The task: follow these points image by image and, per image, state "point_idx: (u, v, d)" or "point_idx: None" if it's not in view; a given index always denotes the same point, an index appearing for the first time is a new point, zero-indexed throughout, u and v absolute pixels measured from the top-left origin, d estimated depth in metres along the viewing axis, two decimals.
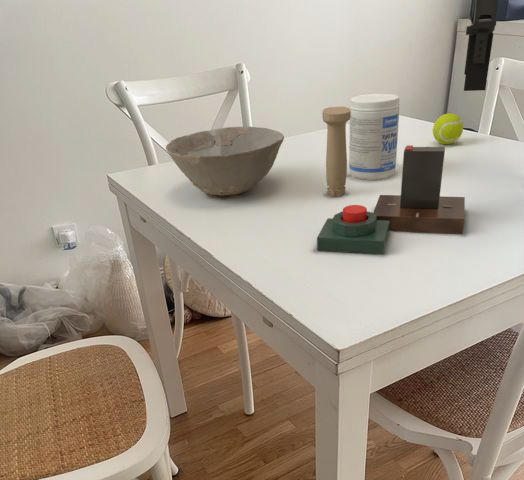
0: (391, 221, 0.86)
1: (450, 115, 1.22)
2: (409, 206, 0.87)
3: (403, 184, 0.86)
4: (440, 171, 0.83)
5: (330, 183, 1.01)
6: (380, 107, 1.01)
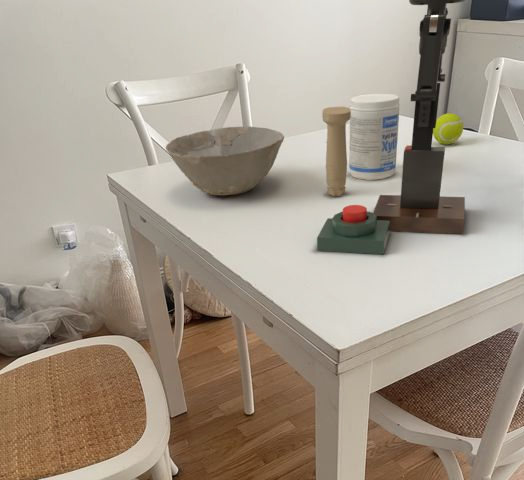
0: (391, 221, 0.86)
1: (450, 115, 1.22)
2: (409, 206, 0.87)
3: (403, 184, 0.86)
4: (440, 171, 0.83)
5: (330, 183, 1.01)
6: (380, 107, 1.01)
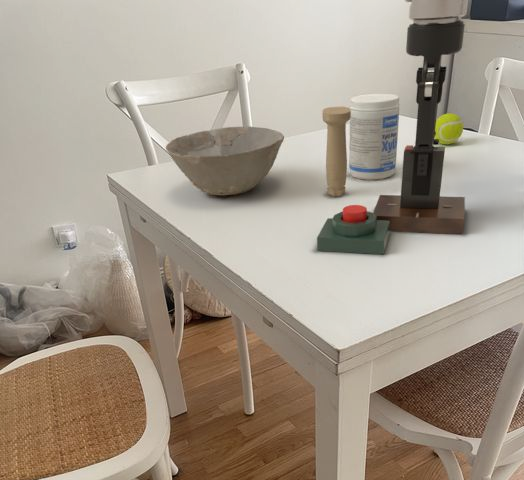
0: (391, 221, 0.86)
1: (450, 115, 1.22)
2: (409, 206, 0.87)
3: (403, 184, 0.86)
4: (440, 171, 0.83)
5: (330, 183, 1.01)
6: (380, 107, 1.01)
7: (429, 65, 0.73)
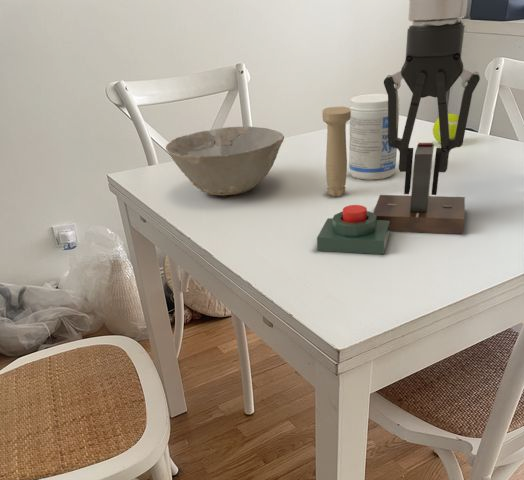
0: (391, 221, 0.86)
1: (450, 115, 1.22)
2: None
3: None
4: (413, 173, 0.83)
5: (330, 183, 1.01)
6: (380, 107, 1.01)
7: None
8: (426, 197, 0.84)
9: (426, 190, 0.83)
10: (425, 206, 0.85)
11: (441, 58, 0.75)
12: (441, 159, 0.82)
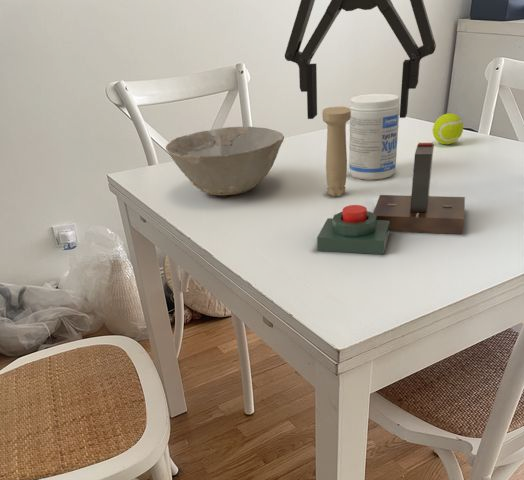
0: (391, 221, 0.86)
1: (450, 115, 1.22)
2: None
3: None
4: (413, 173, 0.83)
5: (330, 183, 1.01)
6: (380, 107, 1.01)
7: None
8: (426, 197, 0.84)
9: (426, 190, 0.83)
10: (425, 206, 0.85)
11: None
12: (410, 72, 0.68)
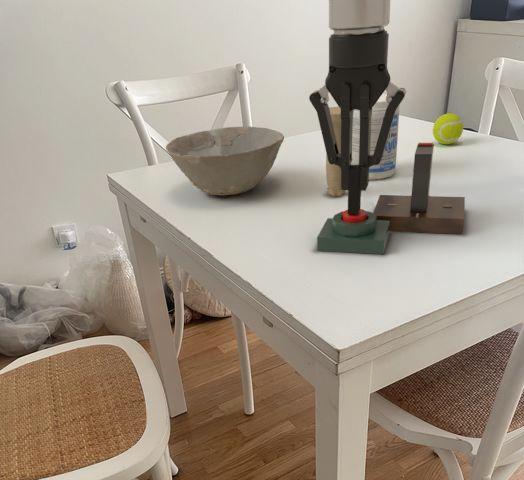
0: (391, 221, 0.86)
1: (450, 115, 1.22)
2: None
3: None
4: (413, 173, 0.83)
5: (330, 183, 1.01)
6: (380, 107, 1.01)
7: None
8: (426, 197, 0.84)
9: (426, 190, 0.83)
10: (425, 206, 0.85)
11: None
12: (360, 177, 0.78)
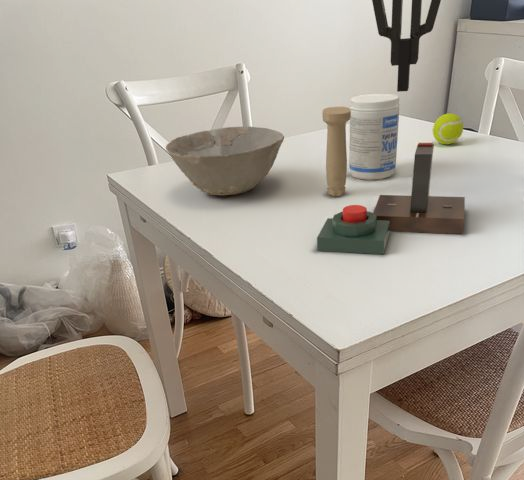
0: (391, 221, 0.86)
1: (450, 115, 1.22)
2: None
3: None
4: (413, 173, 0.83)
5: (330, 183, 1.01)
6: (380, 107, 1.01)
7: None
8: (426, 197, 0.84)
9: (426, 190, 0.83)
10: (425, 206, 0.85)
11: None
12: (411, 49, 0.76)
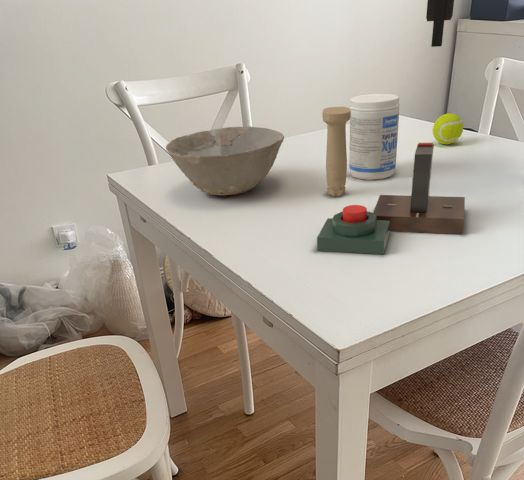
0: (391, 221, 0.86)
1: (450, 115, 1.22)
2: None
3: None
4: (413, 173, 0.83)
5: (330, 183, 1.01)
6: (380, 107, 1.01)
7: None
8: (426, 197, 0.84)
9: (426, 190, 0.83)
10: (425, 206, 0.85)
11: None
12: (446, 5, 0.80)
